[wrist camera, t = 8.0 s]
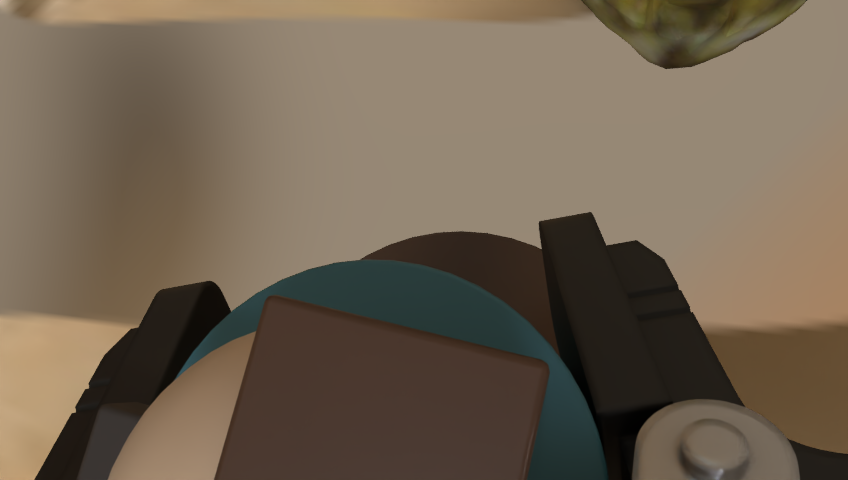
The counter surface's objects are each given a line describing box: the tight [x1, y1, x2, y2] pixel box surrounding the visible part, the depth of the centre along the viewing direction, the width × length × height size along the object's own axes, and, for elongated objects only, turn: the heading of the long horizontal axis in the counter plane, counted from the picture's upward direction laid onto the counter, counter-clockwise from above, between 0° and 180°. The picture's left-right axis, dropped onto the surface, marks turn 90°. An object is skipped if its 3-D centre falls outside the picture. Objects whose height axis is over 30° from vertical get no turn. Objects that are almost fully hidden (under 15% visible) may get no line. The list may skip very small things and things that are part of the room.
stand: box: [361, 232, 560, 357], centre depth 15 cm, size 9×9×2 cm
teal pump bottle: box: [76, 260, 609, 480], centre depth 9 cm, size 4×4×11 cm
